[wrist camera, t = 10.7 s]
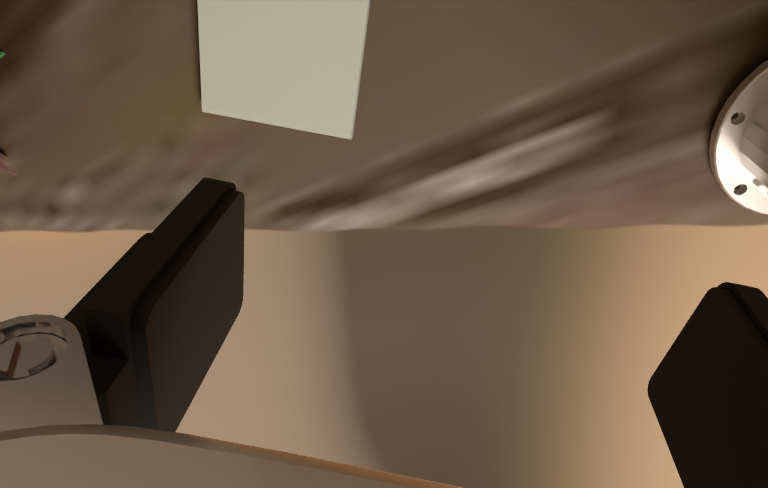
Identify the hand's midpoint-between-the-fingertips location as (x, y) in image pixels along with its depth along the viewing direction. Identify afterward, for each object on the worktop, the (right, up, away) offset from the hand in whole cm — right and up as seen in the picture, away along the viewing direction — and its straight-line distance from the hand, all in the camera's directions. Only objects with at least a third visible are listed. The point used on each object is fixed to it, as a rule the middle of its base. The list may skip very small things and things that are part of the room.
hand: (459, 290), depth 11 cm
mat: (-8, +15, +25) cm, 30 cm away
